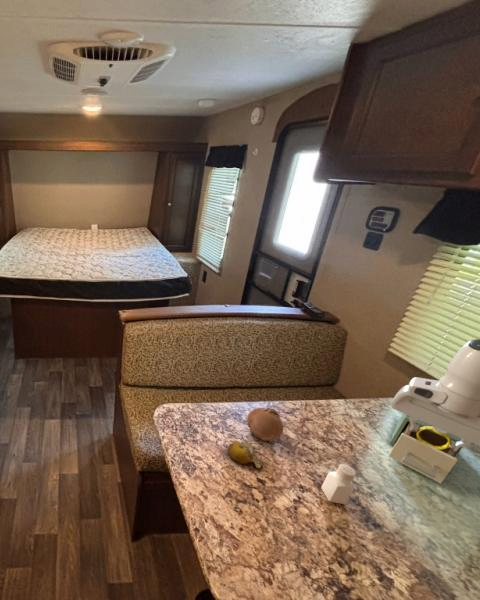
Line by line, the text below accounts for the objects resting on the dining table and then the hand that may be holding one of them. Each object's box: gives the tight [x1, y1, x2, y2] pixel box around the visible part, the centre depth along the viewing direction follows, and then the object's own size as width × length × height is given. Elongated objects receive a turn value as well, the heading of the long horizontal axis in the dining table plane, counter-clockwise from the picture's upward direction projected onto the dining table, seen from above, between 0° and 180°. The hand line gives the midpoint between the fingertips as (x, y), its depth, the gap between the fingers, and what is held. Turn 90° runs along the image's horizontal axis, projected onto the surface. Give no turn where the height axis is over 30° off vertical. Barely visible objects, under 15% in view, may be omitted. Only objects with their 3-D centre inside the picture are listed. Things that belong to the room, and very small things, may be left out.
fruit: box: [226, 441, 263, 470], centre depth 87 cm, size 8×8×4 cm
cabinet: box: [389, 413, 463, 458], centre depth 93 cm, size 15×12×10 cm
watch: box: [417, 426, 450, 450], centre depth 84 cm, size 6×3×6 cm, turn 41°
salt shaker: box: [321, 463, 357, 505], centre depth 76 cm, size 4×4×10 cm
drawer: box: [388, 422, 459, 484], centre depth 86 cm, size 18×10×8 cm, turn 129°
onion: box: [246, 407, 284, 442], centre depth 94 cm, size 10×9×10 cm
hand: (431, 439), depth 84 cm, fingers closed on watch, 6 cm apart
